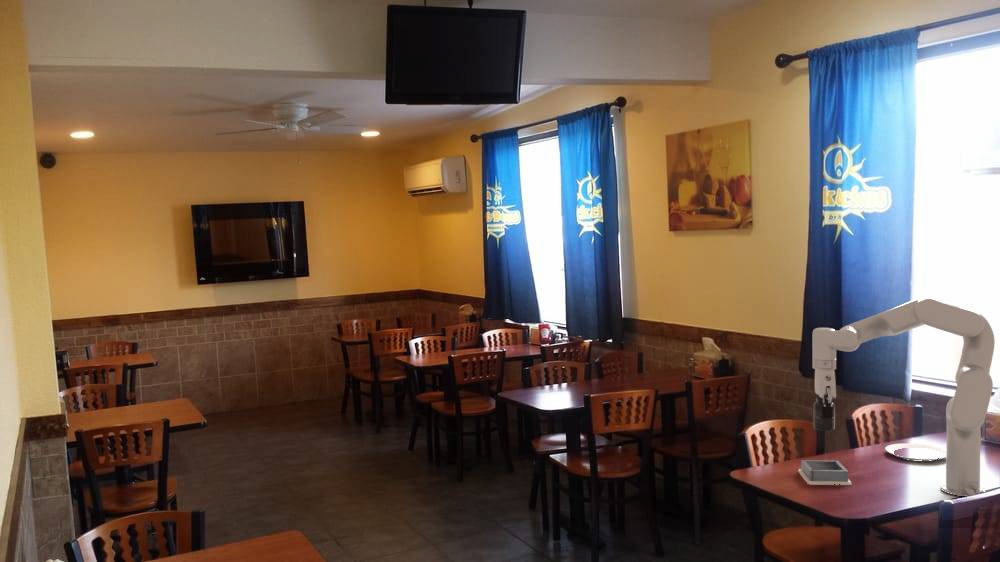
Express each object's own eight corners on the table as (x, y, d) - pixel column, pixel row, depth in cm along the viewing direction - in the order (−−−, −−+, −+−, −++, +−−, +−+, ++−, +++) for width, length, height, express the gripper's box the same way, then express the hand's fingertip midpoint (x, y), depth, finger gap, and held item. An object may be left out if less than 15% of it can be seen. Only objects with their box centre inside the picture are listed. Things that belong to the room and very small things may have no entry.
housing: (851, 485, 271) (851, 472, 271) (808, 484, 273) (808, 471, 273) (839, 472, 285) (839, 459, 285) (798, 471, 287) (798, 459, 286)
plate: (884, 461, 297) (884, 455, 297) (886, 446, 315) (886, 441, 315) (948, 468, 287) (948, 461, 287) (947, 452, 306) (947, 446, 305)
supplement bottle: (838, 431, 274) (838, 396, 273) (817, 431, 274) (817, 396, 273) (830, 425, 281) (830, 391, 280) (810, 426, 281) (810, 392, 280)
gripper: (843, 368, 267) (842, 421, 268) (828, 359, 284) (828, 409, 285) (819, 368, 268) (819, 421, 269) (806, 359, 285) (806, 409, 286)
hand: (824, 414), depth 277 cm, fingers closed on supplement bottle, 6 cm apart
